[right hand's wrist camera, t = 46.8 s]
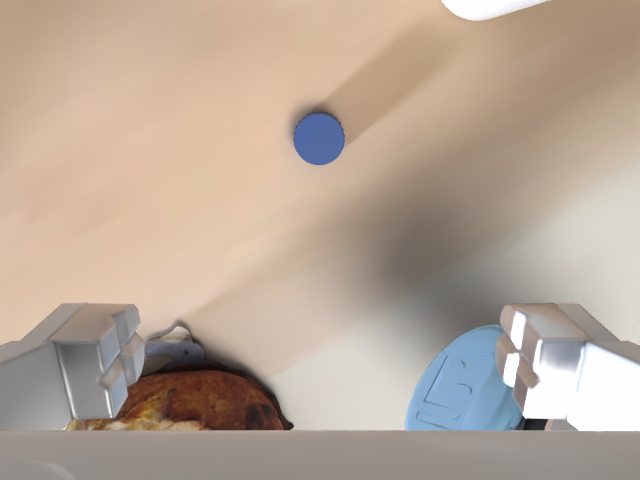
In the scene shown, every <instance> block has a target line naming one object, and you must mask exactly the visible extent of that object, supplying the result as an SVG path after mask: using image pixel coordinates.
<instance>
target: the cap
mask: <svg viewBox="0 0 640 480" xmlns="http://www.w3.org/2000/svg"><path fill="white" fill-rule="evenodd" d="M293 140H294V146H295V149H296V151H297V153H298V154H299V156H300V157H301V158H302V159H303V160H305V161H306V162H308V163H310V164H314V165H324V164H328V163H330V162H332V161H333V160H335V159H336V158H337V157H338V156H339V154H340V153H341V151H342V149H343V146H344V142H345V141H344V133H343V128H341V124H340V122H338V121H337V119H336V118H334V117H333V116H332V115H329V114H327V113H326V112H325V113H323V112H321V111H320V112H314V113H311V114H308V115H307V116H305V117H303V119H302V120H301V121H299V124H298V126H296V131H295V132H294V139H293Z"/></svg>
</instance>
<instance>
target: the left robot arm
mask: <svg viewBox="0 0 640 480" xmlns="http://www.w3.org/2000/svg"><path fill="white" fill-rule="evenodd" d="M504 332H505V330H504V328H503V327H502V325H496V324H491V325H484V326H480V327H476V328H474V329H471V330H469V331H467V332H465V333H464V334H462V335H460V336H459V337H457V338H456V339H454V340H453V341H452V342H451V343H450V344H449V345H448V346H447V347H446V348H445V349H443V350H442V351H441V352H440V353H439V354H438V355H437V356H436V358H435V359H434V360H433V361H432V362H431V364H430V365H429V366H428V368H427V369H426V371H425V372H424V374H423V375H422V377H421V379H420V380H419V382H418V384H417V386H416V388H415V390H414V393H413V395H412V397H411V400H410V403H409V406H408V410H407V414H406V419H405V427H406V430H579V429H578V428H576V427H575V426H574V425H572V424H571V423H569V422H568V419H535V418H525V417H524V415H523V413H522V412H521V410H520V408H519V407H518V405H517V404H516V402H515V400H514V399H513V397H512V393H513V387H511V386H509V385H508V384H506V383H504V382H503V380H502V378H501V376H500V375H499V372H498V369H497V366H496V356H495V351H496V342H497V339H498V338H499V337H500V336H501V335H502V334H503V333H504Z"/></svg>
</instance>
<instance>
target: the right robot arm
mask: <svg viewBox="0 0 640 480" xmlns="http://www.w3.org/2000/svg"><path fill="white" fill-rule="evenodd" d="M139 324H140V318H139V312H138V309H137V307H136V306H135V305H134V304H102V303H89V304H88V303H66V304H61V305H60V306H59V307H58V308H57V309H55V310H54V311H53V312H52V313H51V314H50V315H49V316H47V317H46V318H45V319H44V320H43V321H42V322H41V323H40V324H38V325H37V326H36V327H35V328H34V329H33V330H32V331H30V332H29V333H28V334H27V335H26V336H25V337H24V338H23V339H21V340H20V341H11V342H8V343H6V344H3V345H1V346H0V480H640V346H639V345H637V344H634V343H632V342H629V341H620V340H619V339H617V338H616V337H615V336H614V335H613V334H612V333H611V332H610V331H608V330H607V329H606V328H605V327H604V326H603V325H602V324H601V323H599V322H598V321H597V320H596V319H595V318H594V317H593V316H592V315H590V314H589V313H588V312H587V311H586V310H585V309H584V308H582V307H581V306H580V305H579V304H576V303H535V304H508V305H504V307H503V309H502V312H501V317H500V324H501V325H502V327H503V328H504V330H505V332H504V333H503V334H502V335H501V336H500V337H499V338H498V339H497V342H496V351H495V356H496V366H497V369H498V372H499V375H500V376H501V378H502V380H503V382H504V383H506V384H508V385H509V386H511V387H513V393H512V397H513V399H514V400H515V402H516V404H517V405H518V407H519V408H520V410H521V412H522V413H523V415H524V417H525V418H535V419H568V422H569V423H571V424H572V425H574V426H575V427H576V428H578V429H579V430H61V429H62V428H64V427H65V426H67V425H68V424H69V423H71V422H72V419H104V418H115V417H116V415H117V414H118V412H119V410H120V409H121V407H122V405H123V404H124V402H125V400H126V399H127V397H128V393H127V387H129V386H131V385H132V384H134V383H136V382H137V380H138V378H139V376H140V374H141V372H142V368H143V364H144V354H145V349H144V342H143V339H142V338H141V337H140V336H139V335H138V334H137V333H136V332H135V330H136V328H137V327H138V325H139Z"/></svg>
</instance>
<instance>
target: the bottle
mask: <svg viewBox="0 0 640 480" xmlns="http://www.w3.org/2000/svg"><path fill="white" fill-rule="evenodd" d="M441 1H442V3H443V4H444V5H445V7H446V8H447V9H449V10H450V11H451V12H452V13H454V14H455V15H457V16H459V17H461V18H464V19H467V20H472V21H481V20H487V19H491V18H495V17H498V16H501V15H504V14H508V13H511V12H514V11H517V10H520V9H524V8H527V7H530V6H533V5H537V4H540V3H543V2H546V1H550V0H441Z"/></svg>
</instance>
